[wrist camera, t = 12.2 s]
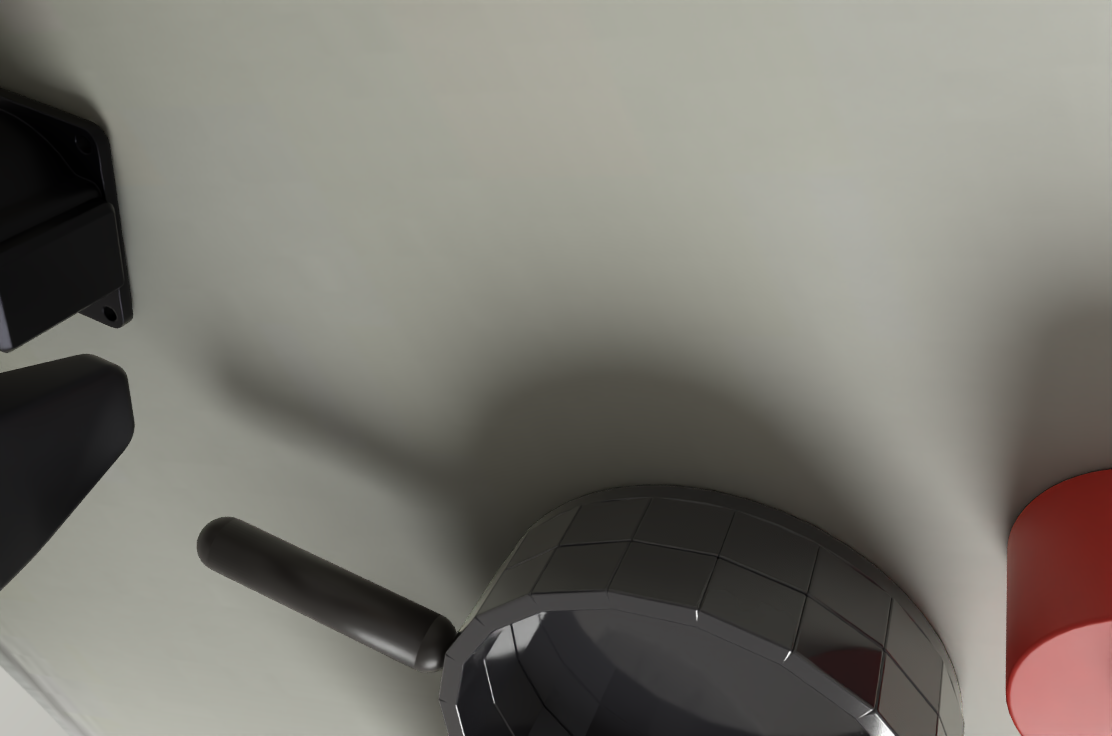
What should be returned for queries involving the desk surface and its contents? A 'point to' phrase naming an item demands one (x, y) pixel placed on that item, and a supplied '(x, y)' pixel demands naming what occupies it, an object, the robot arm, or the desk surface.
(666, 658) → the pan
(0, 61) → the desk surface
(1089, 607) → the pepper
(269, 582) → the pan handle
